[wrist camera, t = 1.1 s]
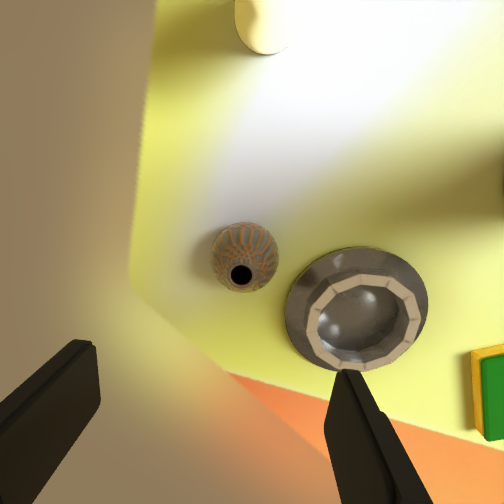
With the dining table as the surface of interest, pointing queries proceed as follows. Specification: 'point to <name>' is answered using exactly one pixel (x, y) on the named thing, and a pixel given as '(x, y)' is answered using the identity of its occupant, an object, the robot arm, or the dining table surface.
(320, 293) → the ring seat
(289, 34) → the beer glass
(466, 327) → the dining table surface
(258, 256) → the vase
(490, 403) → the dish sponge
